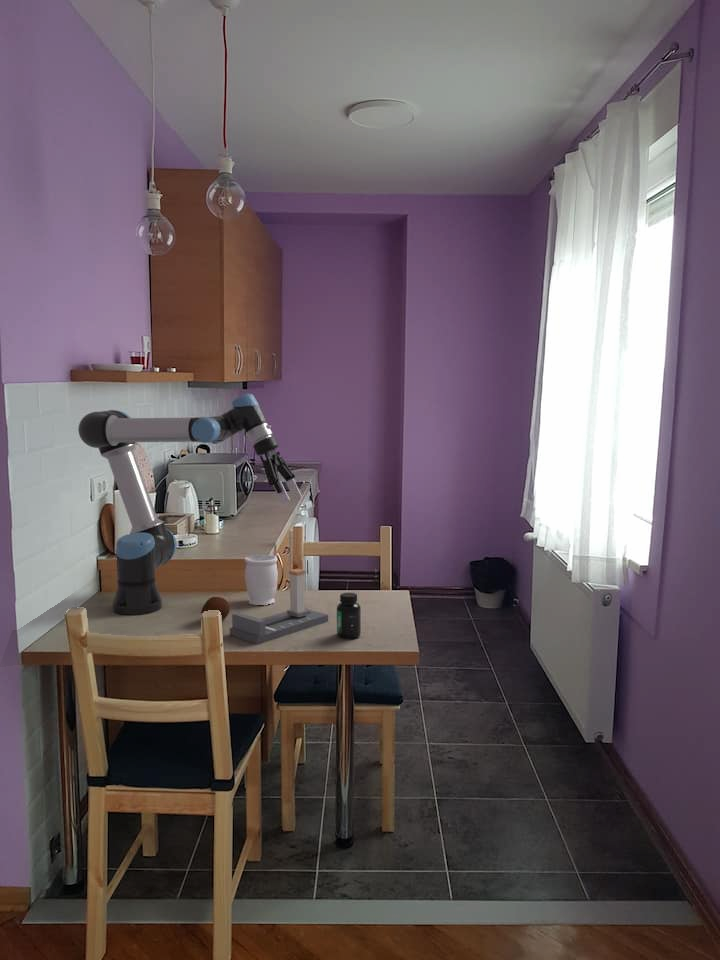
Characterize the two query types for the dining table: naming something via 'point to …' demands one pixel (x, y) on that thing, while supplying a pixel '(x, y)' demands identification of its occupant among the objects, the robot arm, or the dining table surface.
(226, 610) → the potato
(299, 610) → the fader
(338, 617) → the supplement bottle
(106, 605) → the dining table surface
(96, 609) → the dining table surface
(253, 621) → the console
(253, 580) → the jar
